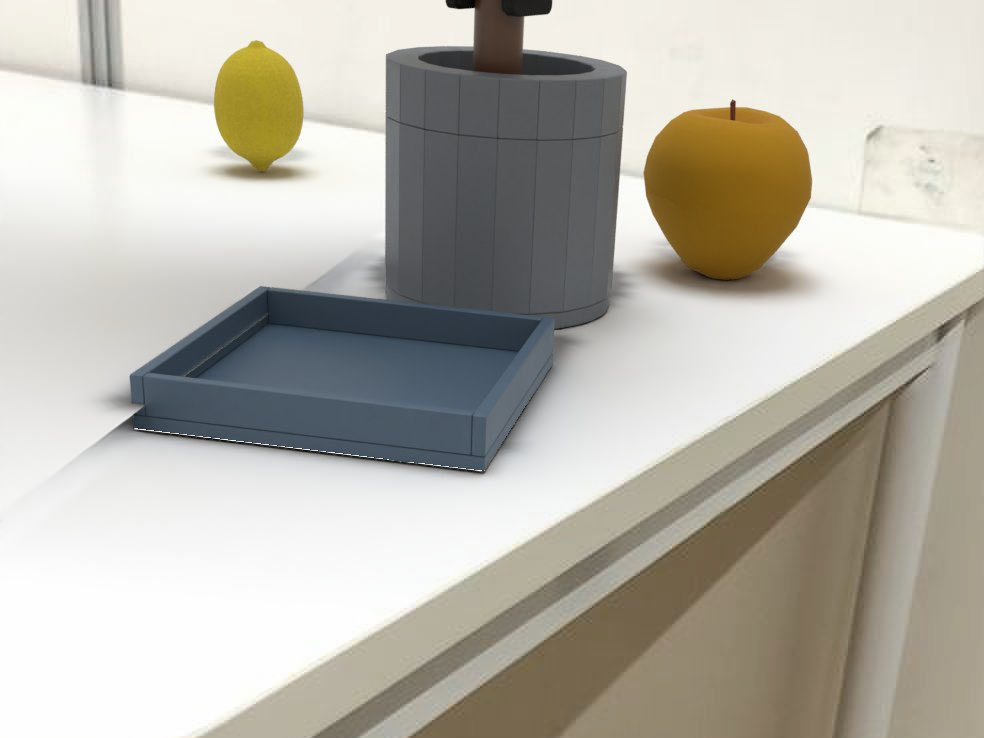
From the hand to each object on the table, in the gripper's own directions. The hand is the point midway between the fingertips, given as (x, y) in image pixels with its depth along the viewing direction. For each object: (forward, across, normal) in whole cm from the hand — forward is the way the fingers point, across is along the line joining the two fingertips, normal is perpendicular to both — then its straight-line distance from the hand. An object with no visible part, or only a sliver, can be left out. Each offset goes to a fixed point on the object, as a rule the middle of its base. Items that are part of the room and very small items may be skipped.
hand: (498, 7), depth 66 cm
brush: (+10, 0, 0) cm, 10 cm away
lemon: (+14, +28, -17) cm, 36 cm away
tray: (+13, -3, +14) cm, 20 cm away
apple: (+14, -6, -14) cm, 21 cm away
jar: (+13, 0, -2) cm, 14 cm away
